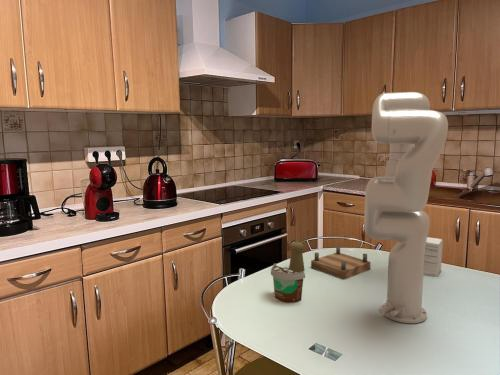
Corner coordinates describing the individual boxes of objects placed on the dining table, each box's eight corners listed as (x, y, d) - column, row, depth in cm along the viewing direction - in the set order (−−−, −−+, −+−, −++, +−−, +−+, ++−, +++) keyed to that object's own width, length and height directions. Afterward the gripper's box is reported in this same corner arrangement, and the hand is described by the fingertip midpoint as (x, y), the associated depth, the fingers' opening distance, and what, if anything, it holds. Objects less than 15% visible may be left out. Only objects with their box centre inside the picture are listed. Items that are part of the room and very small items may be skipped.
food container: (262, 296, 129) (262, 267, 127) (274, 291, 133) (274, 262, 132) (293, 308, 120) (293, 277, 119) (305, 301, 125) (305, 271, 123)
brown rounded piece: (294, 266, 157) (294, 239, 155) (307, 269, 153) (307, 242, 152) (285, 270, 152) (285, 243, 151) (299, 274, 149) (299, 245, 147)
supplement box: (420, 267, 154) (422, 236, 152) (441, 271, 149) (443, 239, 147) (416, 273, 148) (417, 240, 146) (437, 277, 143) (439, 243, 142)
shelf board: (343, 279, 143) (344, 263, 142) (311, 267, 155) (311, 253, 154) (370, 269, 152) (370, 254, 151) (337, 259, 165) (337, 245, 164)
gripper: (374, 156, 146) (372, 202, 148) (417, 159, 132) (414, 209, 134) (386, 155, 150) (384, 199, 153) (429, 157, 136) (426, 206, 139)
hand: (398, 204), depth 144 cm, fingers open, 9 cm apart
